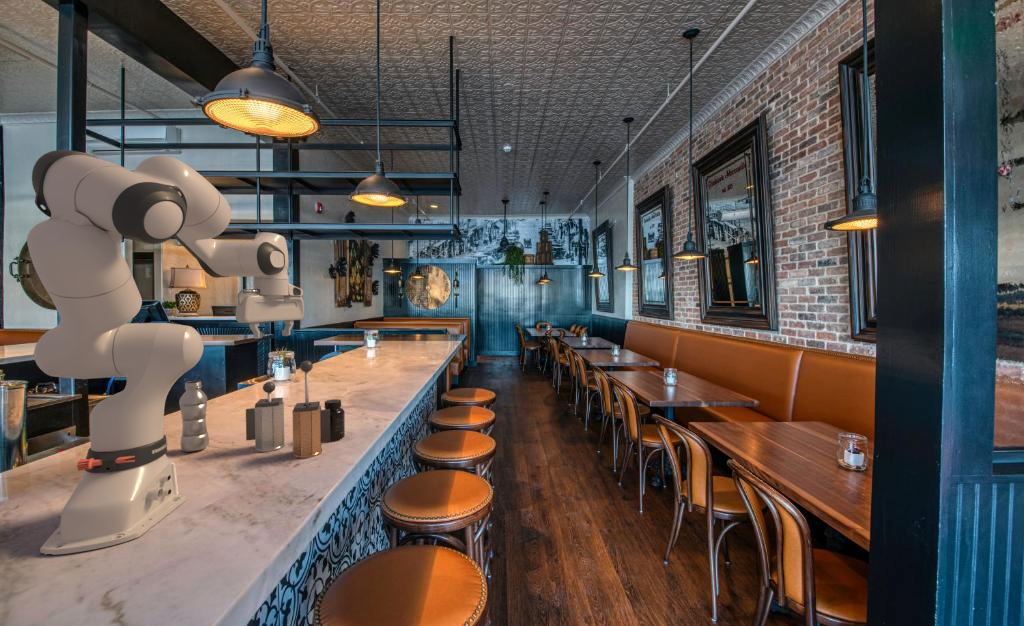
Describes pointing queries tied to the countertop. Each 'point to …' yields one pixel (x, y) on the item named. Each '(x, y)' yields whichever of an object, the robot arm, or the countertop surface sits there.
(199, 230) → the robot arm
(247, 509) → the countertop surface
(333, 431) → the supplement bottle
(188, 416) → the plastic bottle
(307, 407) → the copper press
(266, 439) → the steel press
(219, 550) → the countertop surface
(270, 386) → the steel plunger
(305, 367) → the ball knob lever
